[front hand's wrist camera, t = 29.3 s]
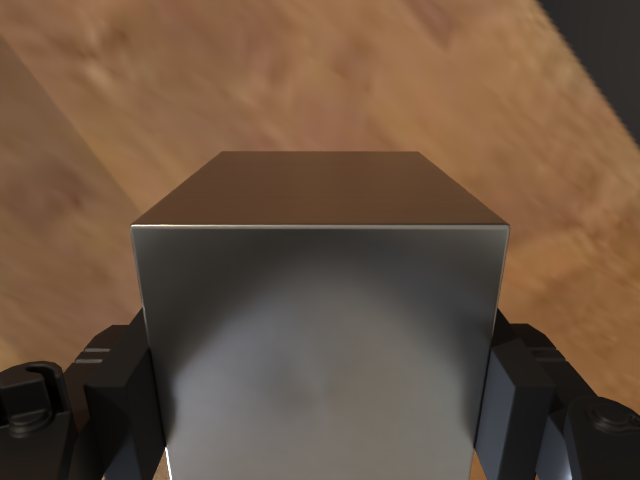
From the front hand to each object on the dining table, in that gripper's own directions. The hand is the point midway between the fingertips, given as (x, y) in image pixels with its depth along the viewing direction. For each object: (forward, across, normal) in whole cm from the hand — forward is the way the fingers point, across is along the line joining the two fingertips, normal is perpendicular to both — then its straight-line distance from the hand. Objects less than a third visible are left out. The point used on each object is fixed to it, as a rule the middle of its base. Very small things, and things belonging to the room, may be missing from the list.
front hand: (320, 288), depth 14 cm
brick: (+3, 0, 0) cm, 3 cm away
